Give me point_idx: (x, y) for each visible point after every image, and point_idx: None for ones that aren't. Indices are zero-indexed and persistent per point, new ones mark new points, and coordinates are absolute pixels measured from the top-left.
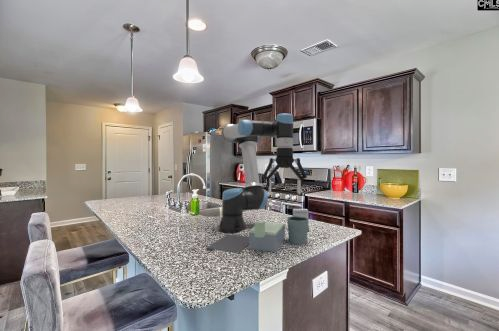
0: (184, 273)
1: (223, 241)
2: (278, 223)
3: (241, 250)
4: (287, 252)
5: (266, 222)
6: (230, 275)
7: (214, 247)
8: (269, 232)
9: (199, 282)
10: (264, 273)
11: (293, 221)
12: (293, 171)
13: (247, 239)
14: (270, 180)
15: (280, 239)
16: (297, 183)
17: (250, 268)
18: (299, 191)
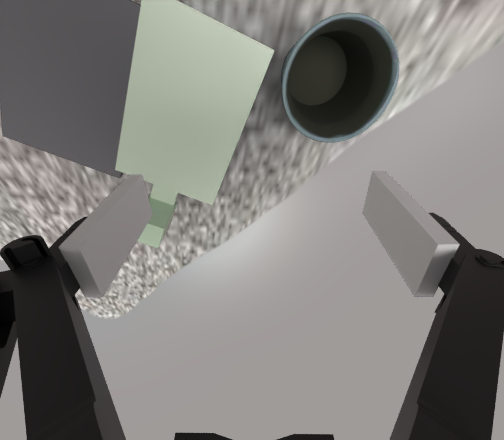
0: None
1: (25, 66)
2: (239, 56)
3: None
4: (255, 164)
5: (175, 28)
6: (130, 265)
7: (27, 134)
8: (191, 197)
9: None
10: (190, 262)
11: (300, 131)
12: (429, 356)
13: (113, 42)
14: (97, 293)
15: None
16: (412, 215)
17: (162, 244)
18: (373, 222)
